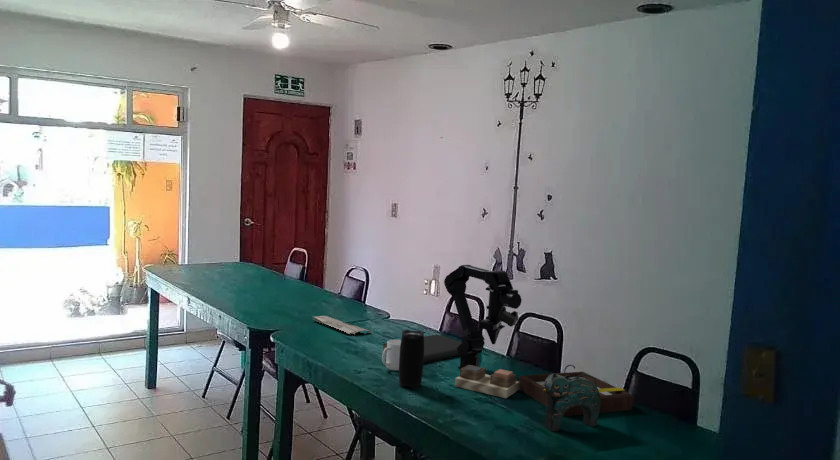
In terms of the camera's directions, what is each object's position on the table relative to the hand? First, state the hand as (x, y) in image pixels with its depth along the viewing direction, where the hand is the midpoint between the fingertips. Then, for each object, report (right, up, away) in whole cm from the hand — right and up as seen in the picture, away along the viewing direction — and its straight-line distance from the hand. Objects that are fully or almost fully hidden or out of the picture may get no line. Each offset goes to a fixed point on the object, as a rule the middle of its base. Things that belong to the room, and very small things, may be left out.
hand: (493, 344), depth 246 cm
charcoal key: (-9, -10, -10) cm, 16 cm away
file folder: (-24, -10, +33) cm, 42 cm away
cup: (-39, -11, +5) cm, 40 cm away
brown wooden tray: (+26, -17, -19) cm, 36 cm away
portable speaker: (-32, -13, -15) cm, 37 cm away
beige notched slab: (-68, -5, +68) cm, 96 cm away
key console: (-4, -14, -12) cm, 19 cm away
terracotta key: (+2, -10, -16) cm, 19 cm away
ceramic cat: (+19, -18, -46) cm, 52 cm away
